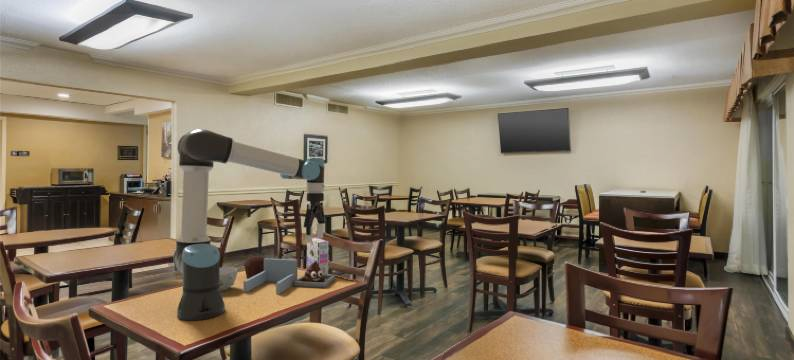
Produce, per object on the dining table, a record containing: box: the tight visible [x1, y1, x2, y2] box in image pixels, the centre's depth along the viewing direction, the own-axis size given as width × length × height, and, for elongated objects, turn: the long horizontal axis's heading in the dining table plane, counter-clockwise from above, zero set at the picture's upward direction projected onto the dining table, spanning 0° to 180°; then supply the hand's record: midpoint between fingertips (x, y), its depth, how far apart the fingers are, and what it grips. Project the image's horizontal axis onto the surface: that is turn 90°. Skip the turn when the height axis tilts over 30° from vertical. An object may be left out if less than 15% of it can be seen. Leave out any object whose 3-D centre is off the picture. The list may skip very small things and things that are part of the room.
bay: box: [243, 257, 298, 295], centre depth 182 cm, size 19×15×10 cm
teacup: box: [219, 266, 238, 292], centre depth 177 cm, size 15×12×8 cm
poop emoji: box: [303, 261, 325, 282], centre depth 188 cm, size 10×8×9 cm
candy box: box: [306, 237, 330, 275], centre depth 206 cm, size 14×6×16 cm, turn 34°
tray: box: [293, 274, 336, 289], centre depth 188 cm, size 14×14×2 cm
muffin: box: [243, 254, 266, 280], centre depth 197 cm, size 12×11×10 cm
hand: (314, 240), depth 188 cm, fingers open, 13 cm apart
